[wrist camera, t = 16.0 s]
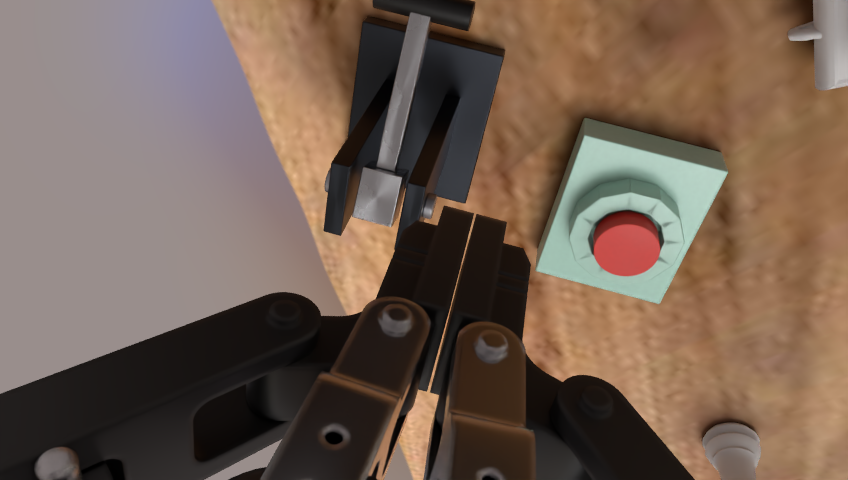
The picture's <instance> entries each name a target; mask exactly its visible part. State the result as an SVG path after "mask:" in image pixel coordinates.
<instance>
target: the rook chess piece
mask: <svg viewBox="0 0 848 480" xmlns="http://www.w3.org/2000/svg"><path fill="white" fill-rule="evenodd" d="M759 443H760V439H759V437H758V435H757V434H756V432H754V431H753V430H751V429H750V428H748V427H746V426H745V425H742V424H739V423H722V424H718V425H715V426H714V427H712V428H711V429H709V430H708V432H707V433H706V434H705V436H704V437H703V447H704V448H705V455H706V457H707V458H708V460H709V461H710V463H711V464H713V466H714V467H715V469H716V470H718V472H719V474H720V477H721V480H756V473H755V468H756V467H757V465H758V460H759V459H760V455H761V447H760V445H759Z"/></svg>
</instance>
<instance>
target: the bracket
mask: <svg viewBox="0 0 848 480" xmlns="http://www.w3.org/2000/svg"><path fill="white" fill-rule="evenodd" d="M406 28H407V26H406V25H402V24H398V23H394V22H390V21H386V20H382V19H378V18H374V17H370V16H367V17H366V19H365V20H364V21H363V23H362V31H361V39H360V46H359V54H358V62H357V70H356V78H355V85H354V93H353V101H352V109H351V116H350V124H349V132H348V138H347V140H346V141H345V143H344V144H343V146H342V147H341V149H340V150H339V152H338V154H337V155H336V157H335V158H334V160H333V161H332V163H331V168H330V169H329V171H328V174H327V177H326V181H325V191H326V192H328V197H327V206H326V214H325V223H324V231H325V232H329V233H332V234H336V235H340V236H341V234H342V232H343V231H344V229H345V227H346V225H347V223H348V221H349V219H350V217H351V215H352V214H353V209H354V205H355V200H356V195H357V191H358V186H359V182H360V177H361V172H362V168H363V167H364V166H365V165H366V164H368V163H369V162H370V161H376V162H377V158H378V154H379V149H380V145H381V140H382V136H383V131H384V127H385V122H386V118H387V113H388V109H389V104H390V100H391V95H392V91H393V86H394V82H395V77H396V73H397V68H398V64H399V59H400V55H401V50H402V46H403V42H404V37H405V33H406ZM504 55H505V50H501V49H497V48H493V47H490V46H486V45H482V44H478V43H474V42H470V41H466V40H462V39H458V38H454V37H450V36H446V35H442V34H438V33H434V32H430V33H429V38H428V42H427V46H426V50H425V55H424V59H423V63H422V68H421V72H420V76H419V81H418V85H417V89H416V93H415V98H414V102H413V106H412V111H411V115H410V119H409V123H408V128H407V132H406V136H405V141H404V145H403V149H402V154H401V158H400V162H399V166H398V168H402V169H406V170H409V174H408V178H407V182H406V186H405V188H406V192H405V197H404V202H403V207H402V212H401V217H400V222H399V228H398V233H397V238H396V243H395V248H394V249H396V247H397V245H398V242H399V239H400V237H401V234H402V232H403V230H404V229H406V228H407V227H408V226H410V225H411V224H412V223H414V222H415V221H416V220H418V221H421V222H424V219H425V218H427V219H431V218H432V215H433V212H434V208H435V204H436V200H437V196H438V197H442V198H445V199H449V200H453V201H457V202H461V203H466V200H467V196H468V192H469V189H470V185H471V181H472V177H473V173H474V169H475V166H476V162H477V158H478V154H479V150H480V147H481V143H482V139H483V135H484V131H485V127H486V124H487V120H488V116H489V112H490V108H491V104H492V101H493V97H494V93H495V89H496V85H497V82H498V78H499V74H500V70H501V66H502V62H503V59H504Z"/></svg>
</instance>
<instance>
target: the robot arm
mask: <svg viewBox="0 0 848 480" xmlns="http://www.w3.org/2000/svg"><path fill="white" fill-rule="evenodd" d="M473 215H474V213H471V212H467V211H463V210H459V209H455V208H452V207H448V206H444V207H443V210H442V213H441V216H440V219H439V222H438V226H436V225H433V224H429V223H425V222H421V221H418V220H416V221H415V222H414V223H412V224H411V225H410V226H408V227H407V228H406V229H404V230H403V232H402V234H401V237H400V239H399V242H398V245H397V247H396V249H395V252H394V254H393V258H392V259H391V262H390V264H389V267H388V269H387V272H386V274H385V277H384V280H383V282H382V285H381V287H380V290H379V292H378V295H377V297H376V299H375V300H373V301H371V302H370V303H368V304H367V305H366V306H365V308H364V309H363V311H362V312H360V313H357V314H354V315H349V316H321V314H320V311H319V309H318V307H317V306H316V305H315V304H314V303H313V302H312V301H311V300H309V299H308V298H306V297H304V296H301V295H298V294H294V293H287V292H279V293H272V294H268V295H265V296H263V297H260V298H258V299H255V300H252V301H249V302H247V303H244V304H241V305H239V306H236V307H233V308H230V309H228V310H225V311H222V312H220V313H217V314H214V315H211V316H209V317H206V318H203V319H201V320H198V321H195V322H193V323H190V324H187V325H185V326H182V327H179V328H176V329H174V330H171V331H168V332H166V333H163V334H160V335H158V336H155V337H152V338H150V339H147V340H144V341H142V342H139V343H136V344H134V345H131V346H128V347H125V348H123V349H120V350H117V351H115V352H112V353H110V354H106V355H104V356H101V357H99V358H96V359H93V360H91V361H88V362H85V363H82V364H80V365H77V366H74V367H72V368H69V369H66V370H63V371H61V372H58V373H55V374H53V375H50V376H47V377H45V378H42V379H39V380H37V381H34V382H31V383H29V384H26V385H23V386H21V387H18V388H15V389H12V390H10V391H7V392H5V393H2V394H0V480H204V479H206V478H208V477H210V476H212V475H214V474H216V473H218V472H220V471H221V470H223V469H225V468H227V467H229V466H231V465H233V464H235V463H237V462H239V461H240V460H243V459H244V458H246V457H248V456H250V455H252V454H254V453H256V452H258V451H260V450H262V449H263V448H265V447H267V446H269V445H271V444H273V443H275V442H277V441H279V440H281V439H282V441H281V443H280V444H279V446H278V448H277V450H276V451H275V453H274V455H273V457H272V459H271V460H270V462H269V464H268V466H267V467H265V468H259V469H255V470H252V471H248V472H245V473H242V474H240V475H238V476H235V477H233V478H231V479H229V480H384V478H385V474H386V472H387V470H388V467H389V465H390V462H391V459H392V456H393V454H394V451H395V449H396V446H397V444H398V441H399V438H400V436H401V433H402V431H403V428H404V425H405V423H406V420H407V416H408V412H409V411H410V410H411V409H412V407H413V405H414V402H415V399H416V395H417V391H418V389H419V390H423V391H426V392H427V389H428V386H429V382H430V379H431V375H432V371H433V368H434V364H435V360H436V357H437V353H438V350H439V346H440V342H441V339H442V335H443V331H444V328H445V324H446V320H447V317H448V313H449V309H450V306H451V302H452V298H453V294H454V290H455V286H456V282H457V278H458V274H459V270H460V266H461V262H462V258H463V255H464V251H465V247H466V243H467V239H468V235H469V231H470V227H471V223H472V219H473ZM506 224H507V222H505V221H501V220H498V219H494V218H490V217H486V216H482V215H479V214H477V215H476V218H475V221H474V225H473V229H472V232H471V236H470V240H469V243H468V247H467V250H466V254H465V258H464V261H463V265H462V269H461V272H460V276H459V280H458V284H457V287H456V291H455V295H454V299H453V303H452V307H451V311H450V315H449V319H448V323H447V327H446V331H445V335H444V339H443V343H442V347H441V351H440V355H439V359H438V363H437V367H436V371H435V375H434V379H433V382H432V386H431V390H430V392H431V393H434V394H438V395H439V399H438V403H437V408H436V411H435V415H434V418H433V421H432V425H431V431H430V438H429V445H428V452H427V459H426V466H425V473H424V480H695V479H694V478H693V477H692V476H691V475H690V473H689V472H688V471H687V470H686V469H685V468H684V466H683V465H682V464H681V463H680V462H679V461H678V459H677V458H676V457H675V456H674V455H673V453H672V452H671V451H670V450H669V449H668V448H667V446H666V445H665V444H664V443H663V442H662V440H661V439H660V438H659V437H658V436H657V435H656V433H655V432H654V431H653V430H652V429H651V428H650V426H649V425H648V424H647V423H646V422H645V420H644V419H643V418H642V417H641V416H640V415H639V413H638V412H637V411H636V410H635V409H634V408H633V406H632V405H631V404H630V403H629V402H628V400H627V399H626V398H625V397H624V396H623V395H622V394H621V392H620V391H619V390H618V389H616V388H615V387H614V386H613V385H611V384H609V383H608V382H606V381H604V380H602V379H599V378H597V377H593V376H588V375H577V376H572V377H570V378H568V379H566V380H565V381H564V382H561V381H559V380H558V379H556V378H554V377H552V376H550V375H549V374H547V373H545V372H544V371H542V370H541V369H540V368H538V367H537V366H536V365H535V364H534V363H533V362H532V361H531V360H530V358H529V357H528V356H527V354H526V351H525V347H524V345H523V343H522V337H523V328H524V319H525V310H526V301H527V292H528V284H529V282H528V281H529V275H530V266H531V264H530V262H529V259H528V257H527V255H526V253H525V251H524V249H523V248H520V247H516V246H512V245H508V244H505V243H503V241H504V235H505V230H506Z"/></svg>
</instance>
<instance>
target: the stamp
mask: <svg viewBox="0 0 848 480" xmlns="http://www.w3.org/2000/svg"><path fill="white" fill-rule="evenodd" d="M787 34H788V37H789V39H790V40H791V41H807V40H812V39H814V61H815V88H817V89H818V90H829V89H834V88H839V87H844V86H848V0H813V21H812V22H809V23H806V24H803V25H800V26H797V27H794V28H792V29H790V30H789V31H788V33H787Z"/></svg>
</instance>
